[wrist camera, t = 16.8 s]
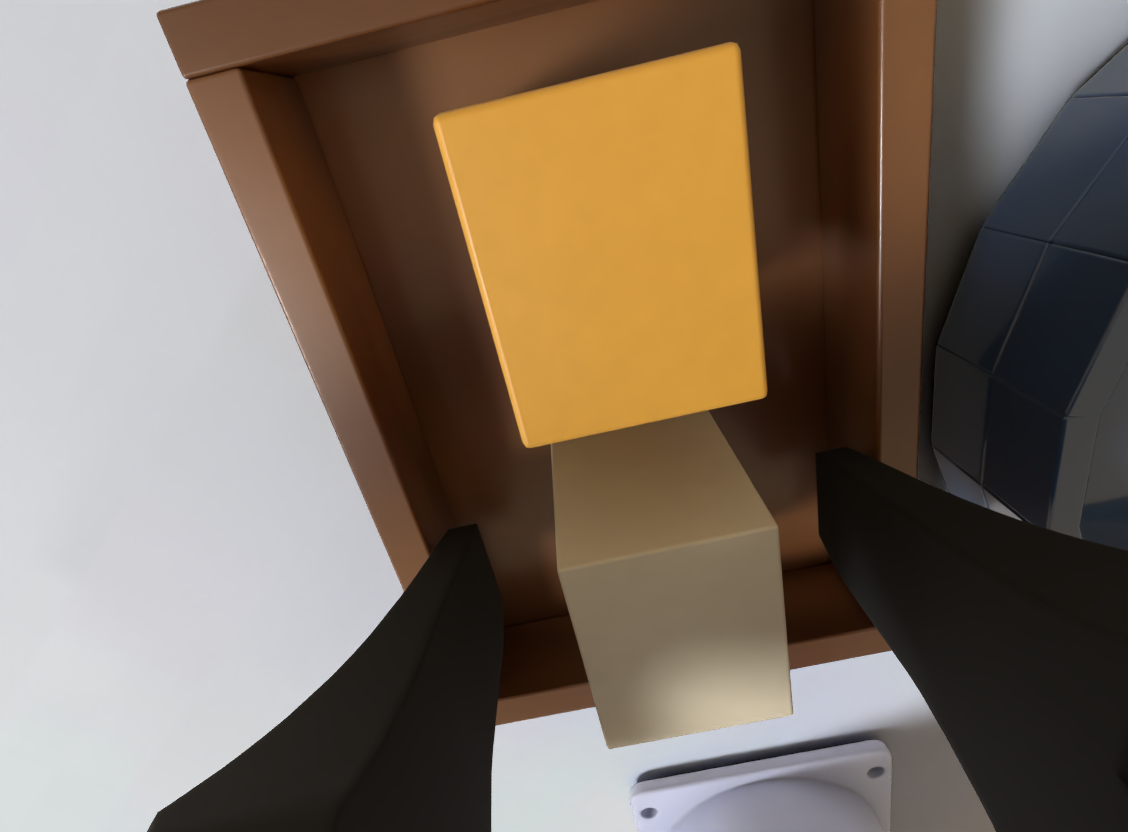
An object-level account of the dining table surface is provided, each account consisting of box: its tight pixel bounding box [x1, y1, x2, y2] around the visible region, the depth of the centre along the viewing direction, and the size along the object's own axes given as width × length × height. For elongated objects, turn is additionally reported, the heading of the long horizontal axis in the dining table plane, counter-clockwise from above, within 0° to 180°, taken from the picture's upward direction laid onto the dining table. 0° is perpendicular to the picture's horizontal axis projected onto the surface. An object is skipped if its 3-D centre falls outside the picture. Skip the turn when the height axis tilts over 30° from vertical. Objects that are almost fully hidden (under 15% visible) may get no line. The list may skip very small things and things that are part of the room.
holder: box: [157, 0, 937, 726], centre depth 12 cm, size 14×10×3 cm
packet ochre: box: [433, 42, 768, 448], centre depth 9 cm, size 4×3×5 cm
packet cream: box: [551, 410, 793, 749], centre depth 12 cm, size 4×3×5 cm
